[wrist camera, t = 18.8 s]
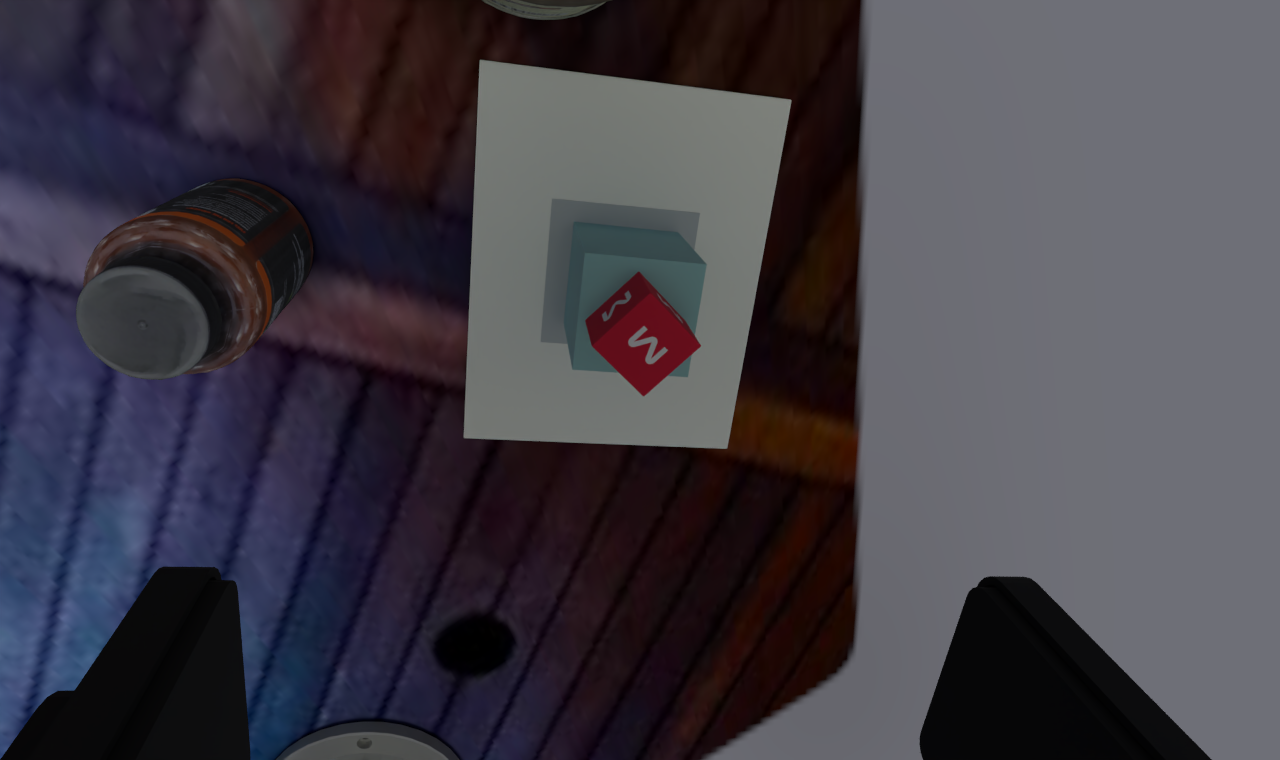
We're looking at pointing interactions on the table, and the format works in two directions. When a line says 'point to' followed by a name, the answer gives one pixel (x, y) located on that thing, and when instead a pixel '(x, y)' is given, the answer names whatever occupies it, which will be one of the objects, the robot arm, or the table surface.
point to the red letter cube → (641, 334)
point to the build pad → (619, 196)
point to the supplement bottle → (193, 280)
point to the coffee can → (545, 8)
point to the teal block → (612, 261)
